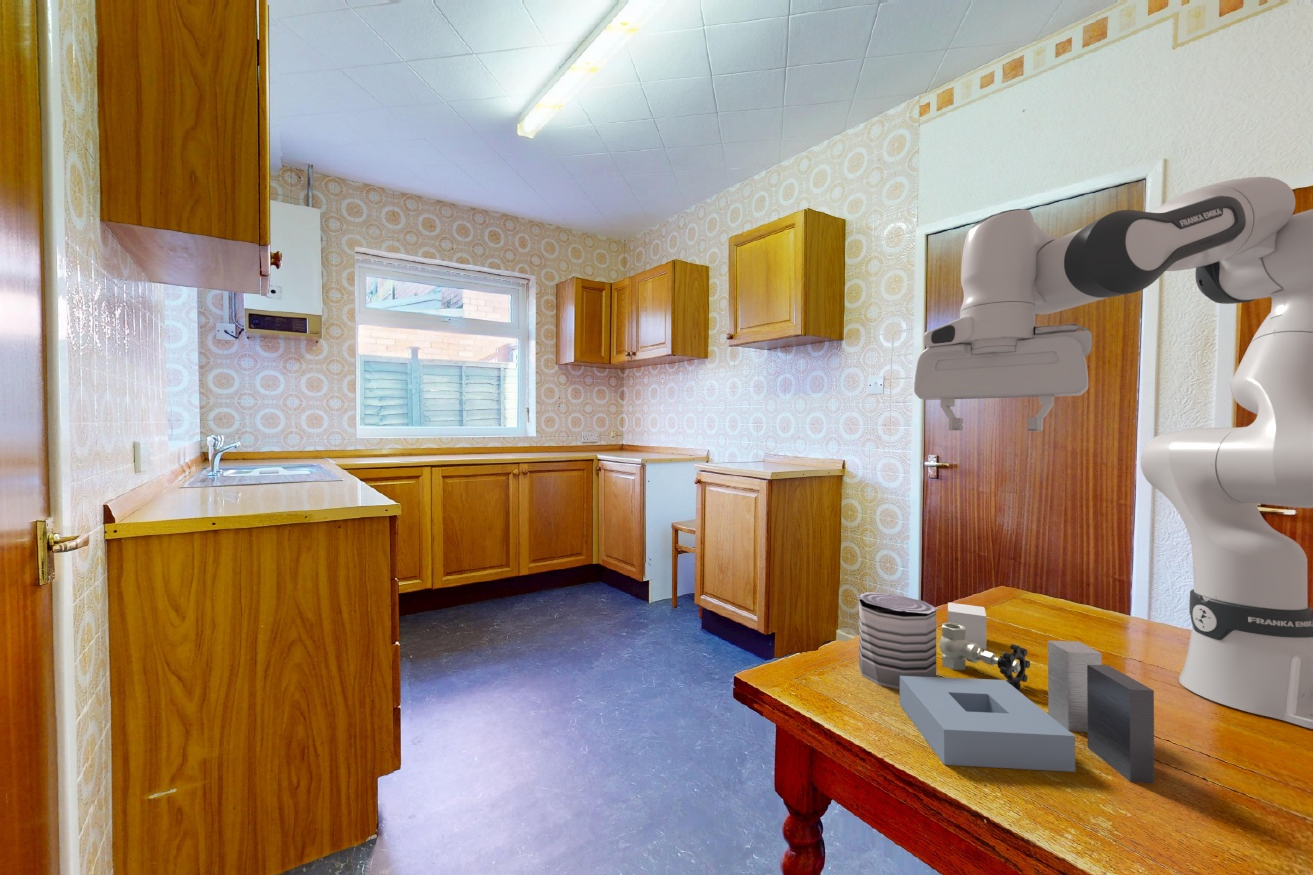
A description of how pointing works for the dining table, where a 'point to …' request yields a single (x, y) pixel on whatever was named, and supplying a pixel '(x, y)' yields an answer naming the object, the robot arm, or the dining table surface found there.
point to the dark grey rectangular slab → (1121, 722)
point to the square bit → (1069, 682)
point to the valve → (980, 655)
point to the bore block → (985, 724)
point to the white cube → (969, 622)
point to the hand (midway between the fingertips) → (993, 430)
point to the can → (896, 638)
